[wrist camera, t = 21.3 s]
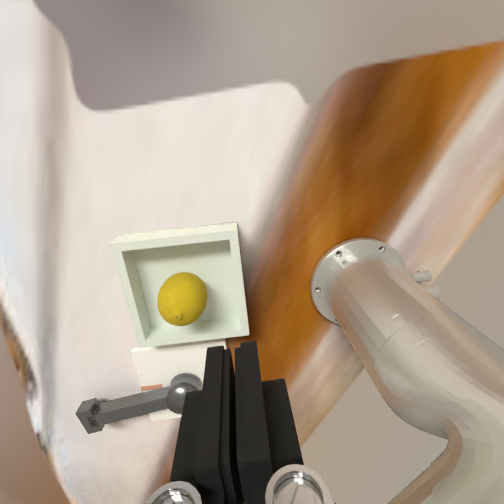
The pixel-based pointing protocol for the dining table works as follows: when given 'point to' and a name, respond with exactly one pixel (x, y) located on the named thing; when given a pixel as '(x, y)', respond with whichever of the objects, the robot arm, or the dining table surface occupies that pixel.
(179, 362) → the crank board
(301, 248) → the dining table surface
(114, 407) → the crank
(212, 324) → the tray
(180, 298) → the lemon
